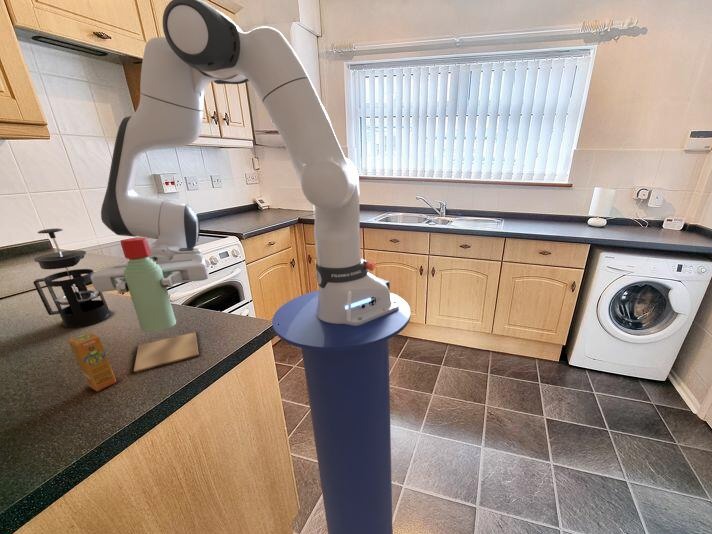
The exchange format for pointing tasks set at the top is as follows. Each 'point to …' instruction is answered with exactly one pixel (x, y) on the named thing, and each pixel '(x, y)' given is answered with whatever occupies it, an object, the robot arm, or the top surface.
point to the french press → (80, 301)
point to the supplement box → (92, 361)
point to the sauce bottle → (149, 295)
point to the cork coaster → (166, 351)
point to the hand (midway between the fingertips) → (144, 286)
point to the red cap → (135, 248)
